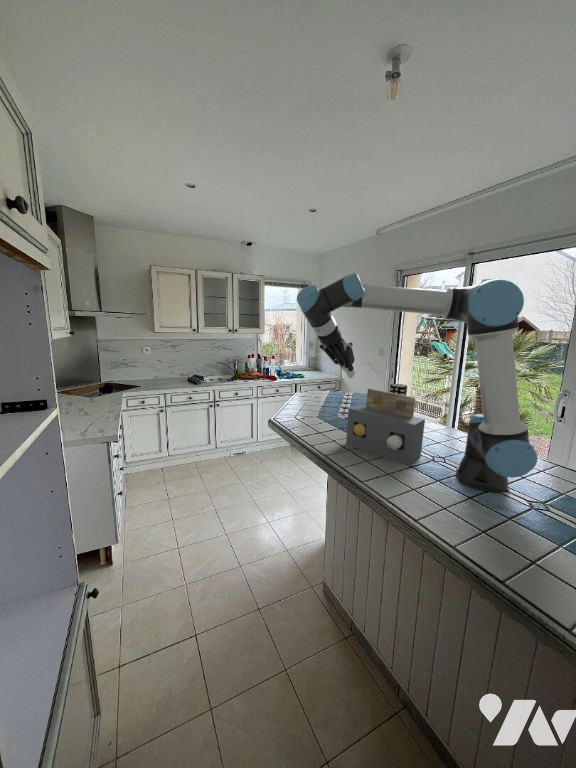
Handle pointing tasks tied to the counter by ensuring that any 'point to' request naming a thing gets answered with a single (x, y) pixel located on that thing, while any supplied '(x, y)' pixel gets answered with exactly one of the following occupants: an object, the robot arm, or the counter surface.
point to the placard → (391, 402)
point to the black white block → (398, 389)
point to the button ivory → (395, 441)
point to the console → (386, 433)
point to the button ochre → (360, 429)
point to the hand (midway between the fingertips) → (352, 375)
